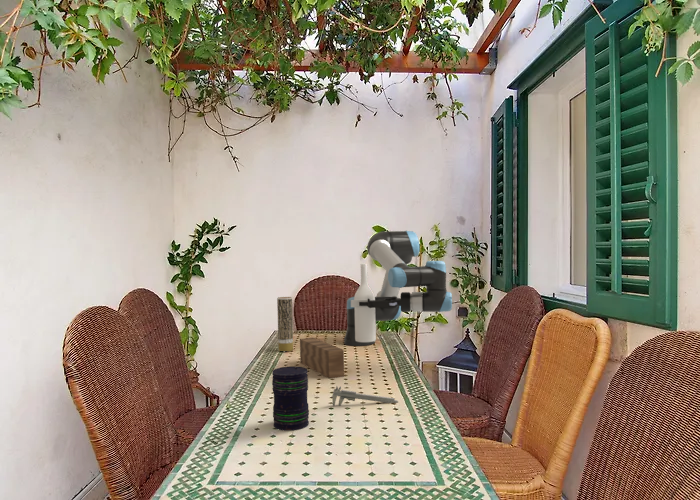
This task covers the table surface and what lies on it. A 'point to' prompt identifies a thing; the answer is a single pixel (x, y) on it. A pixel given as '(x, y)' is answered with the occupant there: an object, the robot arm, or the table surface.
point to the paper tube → (285, 323)
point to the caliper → (358, 396)
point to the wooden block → (322, 357)
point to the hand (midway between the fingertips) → (352, 302)
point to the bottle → (364, 311)
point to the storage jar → (290, 398)
